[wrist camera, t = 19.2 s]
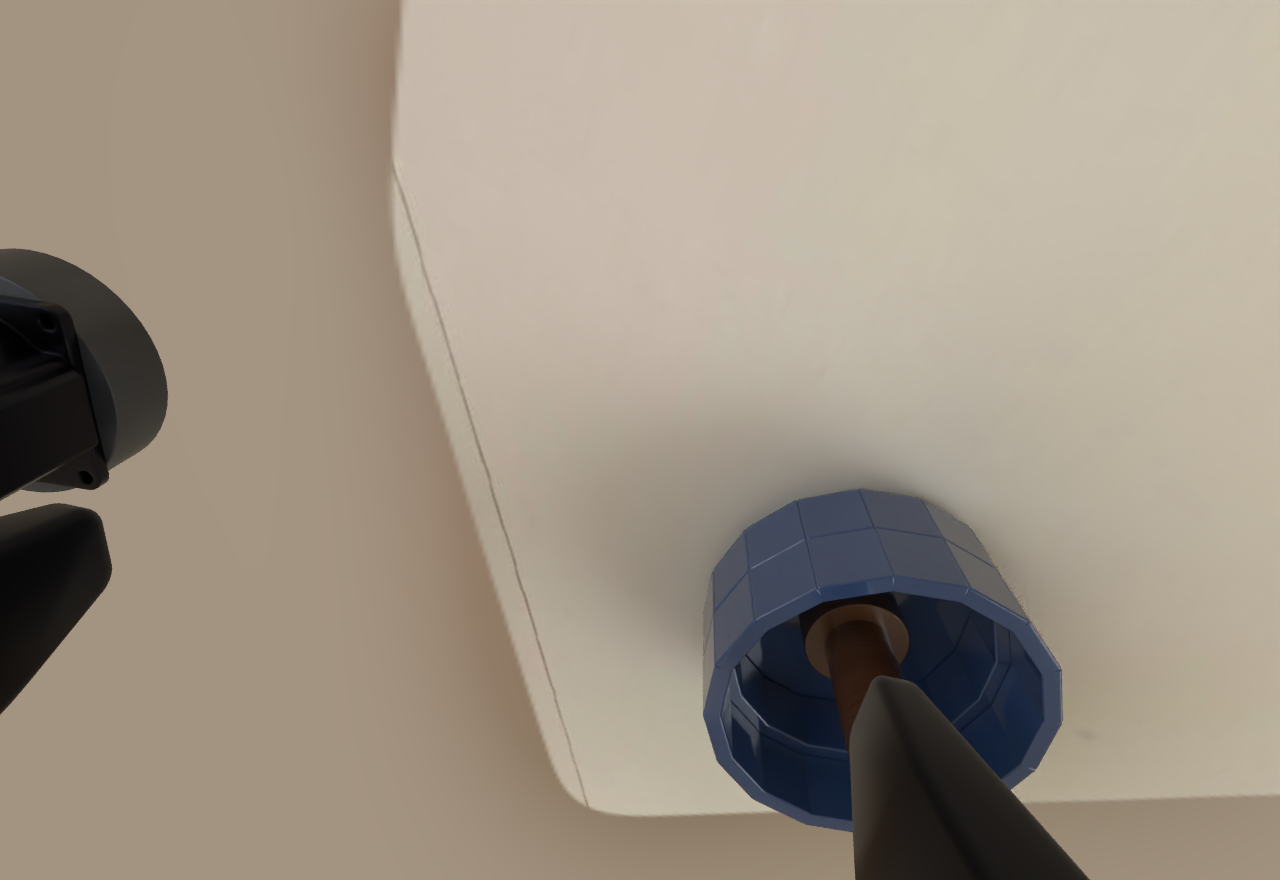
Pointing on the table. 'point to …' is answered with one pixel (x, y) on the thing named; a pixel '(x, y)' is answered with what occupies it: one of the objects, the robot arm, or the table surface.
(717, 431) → the table surface
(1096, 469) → the table surface
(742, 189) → the table surface
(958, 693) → the bowl
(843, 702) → the muddler
